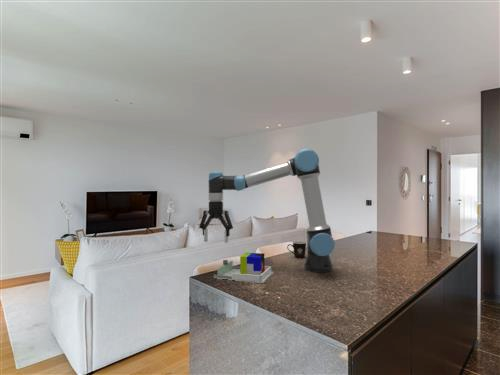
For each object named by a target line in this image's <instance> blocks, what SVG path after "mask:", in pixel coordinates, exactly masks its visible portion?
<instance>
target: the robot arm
mask: <svg viewBox="0 0 500 375" xmlns="http://www.w3.org/2000/svg"><path fill="white" fill-rule="evenodd" d="M319 164H320V158H319V155H318V153H317V152H316V151H315V150H313V149H310V148H303V149H301V150H299V151H298V152H297V153H296V154H295V156H294V157H293V158H291V159H287V161H286V162H283V163H280V164H277V165H273V166H270V167H268V168H264V169H260V170H257V171H253V172H250V173H248V174H244V175H238V174H237V175H224V173H223V172H222V171H211V172H209V174H208V210H203V212H202V213H203V215H202V217H201V220H200V224H199V226H198V228H199V229H201V230H202V236H203V242H204V243H207V242H209V240H208V239H209V237H208V233H209V232H208V229H207V228H208V227H209V225H210V223H211V221H212V220H213V219H214V220H215V219H218V220H219V221H220V223H221V224H222V225H223V227H224V244H228V243H229V237H230V234H231V233H230V230H233V228H234V227H233V224H232V221H231V218H230V215H229V210H224V209H223V208H224V202H223V201H224V196H223V195H224V192H223V191H225V190H226V191H230V190H231V191H233V190H234V191H237V192H239V191H243V190H244V189H248V188H251V187H254V186H258V185H261V184H264V183H268V182H272V181H274V180H279V179H282V178H286V177H288V176H292V177H295V176H296V177H297V179H298V180H300V182H301V188H302V192H303V199H304V204H305V209H306V214H307V220H308V227H307V229H306V236H307V237H306V238H307V242H306V249H307V255H306V257H305V261H304V270H306V271H309V272H314V273H315V272H316V273H327V272H331V271H333V269H334V268H333V263H332V259H331V258H330V255H331V254H332V252H333V251H334V249H335V245H336V244H335V239H334V238H333V235H332V231H331V226H330V225H329V224H327V219H326V215H325V210H324V204H323V199H322V193H321V188H320V182H319V176H320V174H321V172H320V166H319ZM208 215H209V216H208ZM223 215H224V216H223ZM224 217H225V218H224Z"/></svg>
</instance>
